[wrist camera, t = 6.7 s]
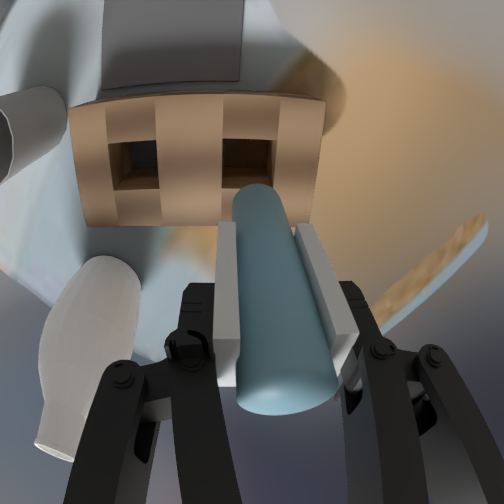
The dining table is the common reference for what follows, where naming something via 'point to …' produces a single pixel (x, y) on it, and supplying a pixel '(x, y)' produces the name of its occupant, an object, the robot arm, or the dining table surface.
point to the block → (192, 155)
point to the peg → (276, 313)
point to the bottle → (84, 347)
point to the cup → (29, 127)
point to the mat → (170, 41)
